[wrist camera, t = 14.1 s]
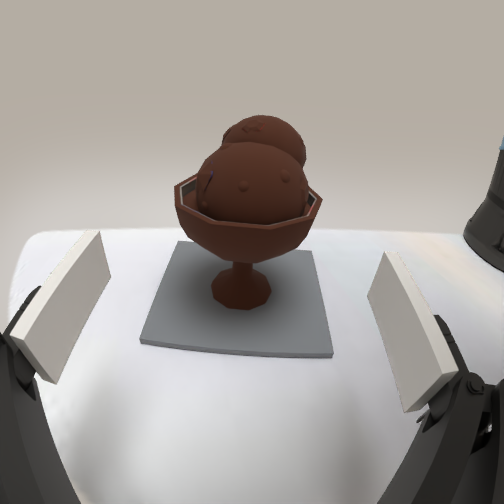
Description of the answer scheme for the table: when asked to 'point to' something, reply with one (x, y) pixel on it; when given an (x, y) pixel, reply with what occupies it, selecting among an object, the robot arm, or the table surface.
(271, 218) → the ice cream bowl
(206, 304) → the slate mat
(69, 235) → the table surface
